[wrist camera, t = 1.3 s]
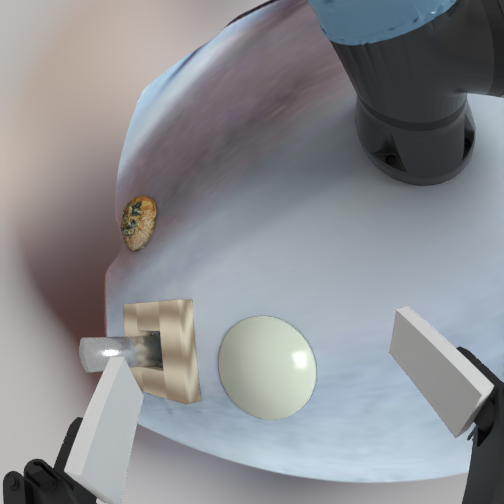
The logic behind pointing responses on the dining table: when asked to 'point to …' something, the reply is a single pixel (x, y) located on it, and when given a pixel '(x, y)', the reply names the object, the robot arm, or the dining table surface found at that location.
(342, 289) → the dining table surface
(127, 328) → the holder block
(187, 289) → the dining table surface
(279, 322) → the coaster
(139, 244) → the bread roll
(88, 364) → the canister
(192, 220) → the dining table surface
